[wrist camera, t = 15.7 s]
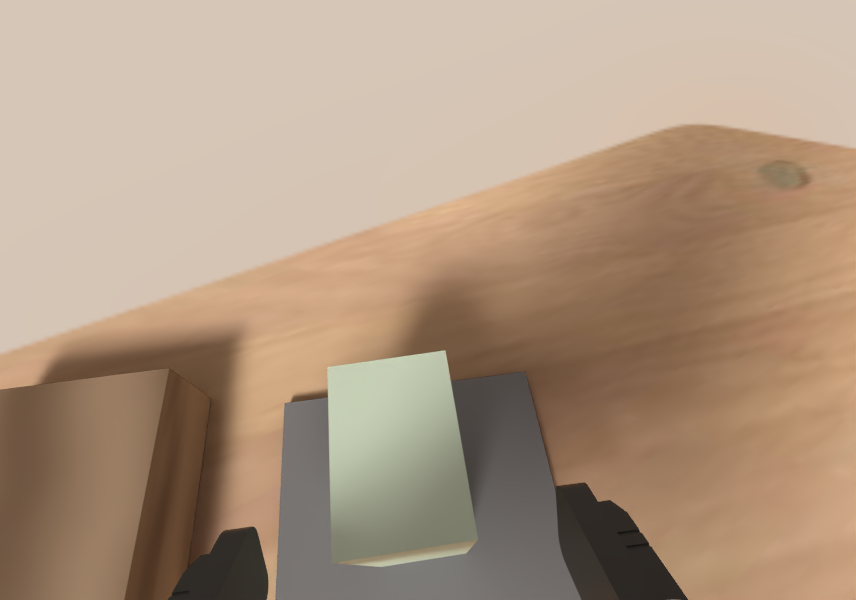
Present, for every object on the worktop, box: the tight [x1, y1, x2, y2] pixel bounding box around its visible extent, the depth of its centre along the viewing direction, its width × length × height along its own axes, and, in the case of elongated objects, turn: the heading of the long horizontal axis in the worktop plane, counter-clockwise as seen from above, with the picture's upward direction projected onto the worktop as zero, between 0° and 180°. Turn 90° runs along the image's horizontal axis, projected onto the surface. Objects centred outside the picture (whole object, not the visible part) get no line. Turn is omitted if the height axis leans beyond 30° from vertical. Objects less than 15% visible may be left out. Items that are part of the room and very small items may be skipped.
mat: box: [276, 372, 581, 600], centre depth 20 cm, size 12×10×1 cm
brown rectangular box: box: [0, 368, 211, 600], centre depth 18 cm, size 10×10×4 cm
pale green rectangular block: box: [327, 350, 478, 567], centre depth 16 cm, size 4×5×9 cm
